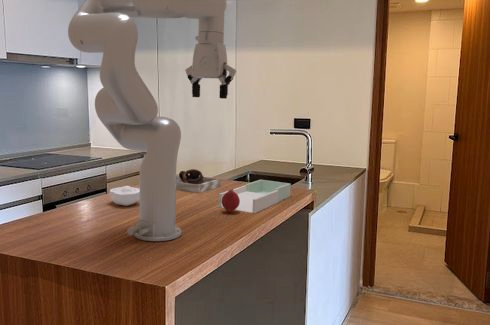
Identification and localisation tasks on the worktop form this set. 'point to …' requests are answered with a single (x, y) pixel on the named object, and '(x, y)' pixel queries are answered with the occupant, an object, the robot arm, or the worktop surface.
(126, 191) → the cell model
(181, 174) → the pottery mug
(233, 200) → the red round fruit
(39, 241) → the worktop surface
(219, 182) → the mug stand
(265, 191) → the tray
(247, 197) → the white piece
